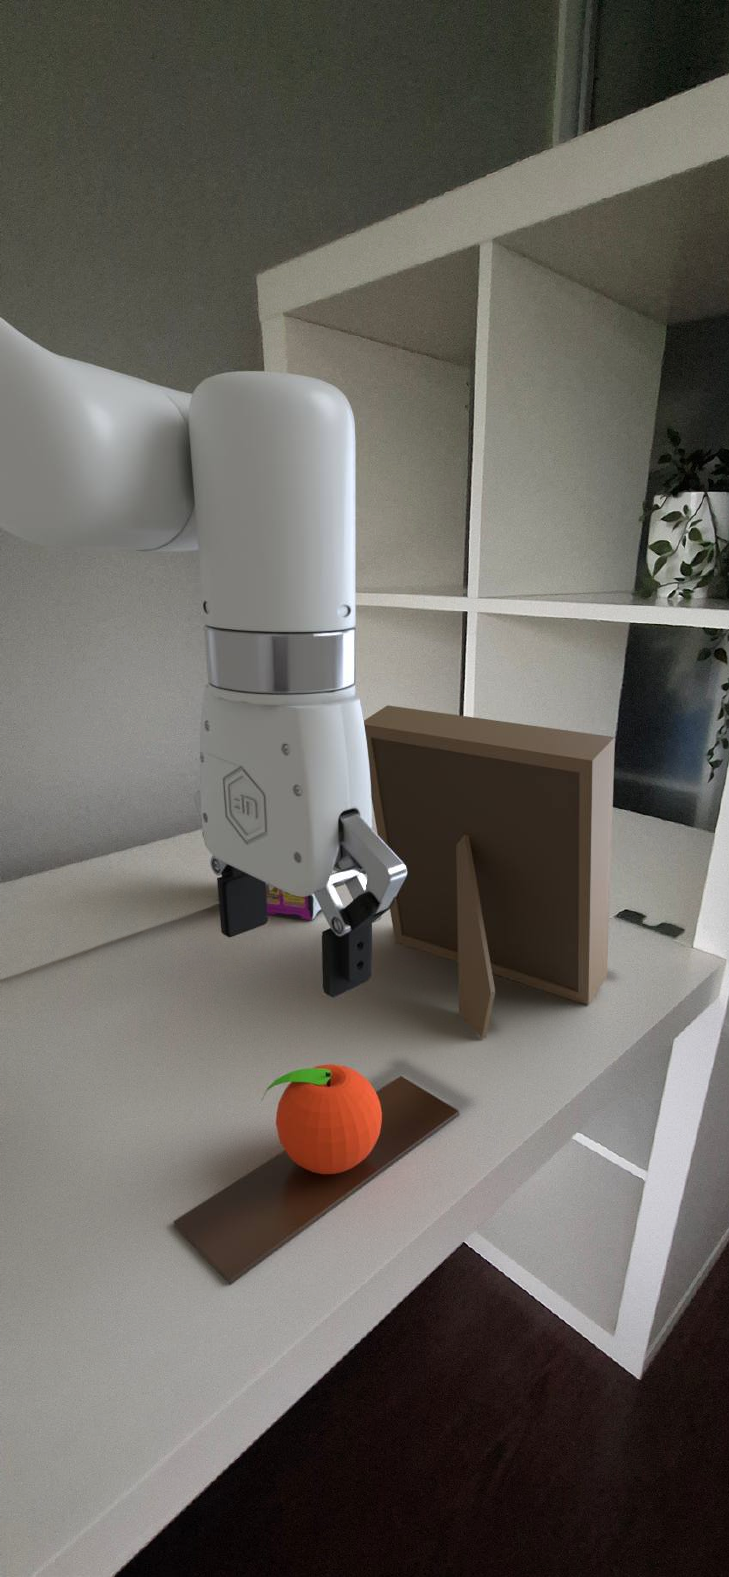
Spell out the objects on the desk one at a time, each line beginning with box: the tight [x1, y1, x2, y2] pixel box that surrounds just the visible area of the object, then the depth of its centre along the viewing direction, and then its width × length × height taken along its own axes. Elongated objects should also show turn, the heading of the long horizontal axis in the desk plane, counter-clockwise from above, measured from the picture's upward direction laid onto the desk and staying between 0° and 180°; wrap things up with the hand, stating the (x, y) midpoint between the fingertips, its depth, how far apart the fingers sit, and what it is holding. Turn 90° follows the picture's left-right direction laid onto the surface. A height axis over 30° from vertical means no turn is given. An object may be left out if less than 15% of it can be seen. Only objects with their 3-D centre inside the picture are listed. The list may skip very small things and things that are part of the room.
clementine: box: [261, 1063, 382, 1174], centre depth 51 cm, size 8×7×7 cm
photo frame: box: [363, 704, 616, 1039], centre depth 69 cm, size 15×22×25 cm
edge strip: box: [173, 1075, 460, 1285], centre depth 52 cm, size 6×20×1 cm, turn 137°
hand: (293, 956), depth 47 cm, fingers open, 9 cm apart
